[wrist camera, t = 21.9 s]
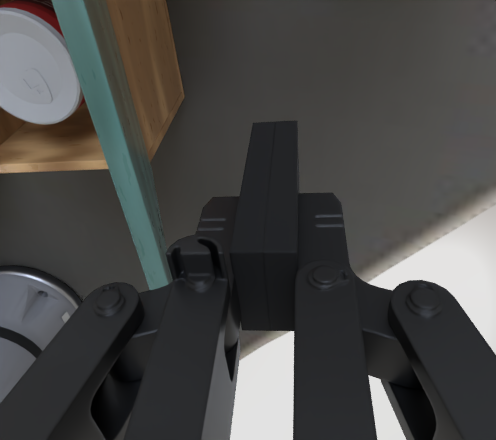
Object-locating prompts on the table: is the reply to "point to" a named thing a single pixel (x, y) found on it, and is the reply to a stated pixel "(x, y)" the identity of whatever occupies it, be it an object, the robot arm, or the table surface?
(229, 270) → the robot arm
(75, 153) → the chest
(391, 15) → the table surface
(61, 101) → the canned food
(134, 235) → the chest lid
